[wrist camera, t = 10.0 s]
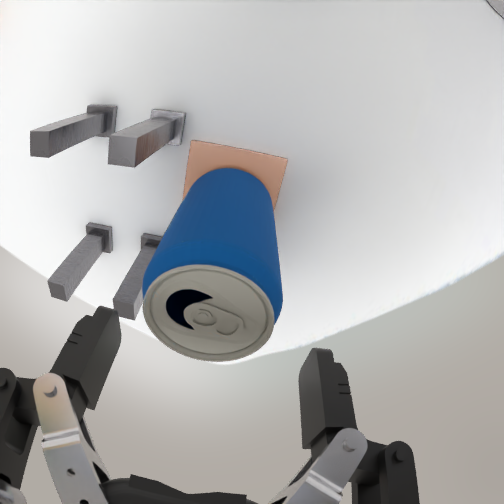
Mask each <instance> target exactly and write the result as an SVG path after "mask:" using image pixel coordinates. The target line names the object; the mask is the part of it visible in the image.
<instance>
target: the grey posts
mask: <svg viewBox="0 0 504 504" xmlns="http://www.w3.org/2000/svg"><path fill="white" fill-rule="evenodd" d="M185 115H186V113H184V112H176V111H168V110H159V109H153V110H152V112H151V119H148V120H146V121H143V122H141V123H138V124H135V125H133V126H130V127H128V128H125V129H123V130H121V131H118V132H116V133H113V134H111V135H110V138H109V153H108V164H112V165H120V166H127V167H136V166H137V165H138V164H140V163H141V162H142V161H144V160H145V159H146V158H148V157H149V156H150V155H152V154H153V153H155V152H156V151H157V150H159V149H160V148H162V147H163V146H164V145H166V144H170V145H177V146H179V145H180V144H181V140H182V133H183V127H184V121H185ZM162 238H163V237H160V236H155V235H149V234H144V233H143V235H142V236H141V251H140V253H139V255H138V256H137V258H136V260H135V261H134V263H133V265H132V266H131V268H130V270H129V272H128V273H127V275H126V277H125V279H124V280H123V282H122V284H121V286H120V287H119V289H118V291H117V293H116V295H115V296H114V298H113V305H114V309H115V310H117V311H118V316H119V317H123V318H127V319H131V320H135V319H136V316H137V314H138V312H139V309H140V307H141V305H142V302H143V300H144V299H143V293H142V284H143V277H144V273H145V271H146V269H147V267H148V265H149V263H150V261H151V259H152V257H153V255H154V253H155V251H156V249H157V247H158V245H159V243H160V241H161V239H162Z"/></svg>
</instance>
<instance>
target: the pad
mask: <svg viewBox="0 0 504 504" xmlns="http://www.w3.org/2000/svg"><path fill="white" fill-rule="evenodd" d="M287 161H288V160H287V159H285V158H281V157H277V156H272V155H268V154H264V153H259V152H254V151H250V150H245V149H240V148H235V147H229V146H224V145H219V144H213V143H207V142H202V141H195V140H192V141H191V145H190V151H189V158H188V164H187V171H186V178H185V186H184V193H183V200H184V198H185V196H186V194H187V193H188V191H189V189H190V188H191V186H192V185H193V183H194V182H195V181H196V180H197V179H198V178H200V177H201V176H202V175H204V174H206V173H208V172H210V171H213V170H216V169H221V168H234V169H239V170H243V171H245V172H248V173H250V174H251V175H253V176H255V177H256V178H257V179H259V180H260V181H261V182H262V183H263V185H264V186H265V187H266V189H267V190H268V192H269V194H270V197H271V200H272V205H273V212H274V209H275V205H276V202H277V198H278V194H279V191H280V187H281V183H282V179H283V176H284V172H285V168H286V165H287Z"/></svg>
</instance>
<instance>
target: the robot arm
mask: <svg viewBox="0 0 504 504" xmlns="http://www.w3.org/2000/svg"><path fill="white" fill-rule="evenodd" d="M487 1H488V2H489V3H490V5H491V6H492V7H493V8H494V9H495V10H496V11H497V12H498V13H499V14H500V15H501V16H502V17H503V18H504V0H487ZM120 343H121V329H120V323H119V316H118V311H117V310H115V309H111V308H107V307H104V306H99V307H98V308H97V310H96V311H95V313H94V315H93V317H92V316H89V315H86V316H85V317H83V318H82V319H81V320H80V321H78V322H77V324H76V326H75V327H74V329H73V331H72V334H70V336H69V338H68V339H67V342H66V343H65V345H64V347H63V348H62V350H61V352H60V354H59V356H58V358H57V360H56V361H55V364H54V365H53V367H52V369H51V370H50V372H49V373H45V374H43V375H41V376H40V377H38V378H37V379H27V378H19V377H16V376H15V375H14V374H13V372H12V371H11V370H9V369H7V368H0V504H27V502H26V499H25V497H24V495H23V494H22V492H21V491H20V487H21V483H22V479H23V475H24V471H25V467H26V463H27V459H28V456H29V453H30V449H31V446H32V443H33V440H34V436H35V433H36V430H37V427H38V426H41V428H42V432H43V436H44V439H43V440H42V449H43V452H44V456H45V459H46V462H47V465H48V468H49V471H50V473H51V476H52V479H53V482H54V484H55V487H56V490H57V492H58V494H59V497H60V499H61V502H62V504H258V503H255V502H253V501H251V500H248V499H246V496H247V495H242V494H231V493H221V492H213V493H201V494H186V493H183V492H181V491H178V490H176V489H174V488H171V487H169V486H167V485H165V484H163V483H161V482H159V481H155V480H150V479H147V478H143V477H139V476H136V475H132V474H131V476H130V478H119V479H113V480H111V478H110V476H109V474H108V471H107V469H106V467H105V465H104V463H103V462H102V460H101V458H100V456H99V454H98V452H97V450H96V448H95V445H94V443H93V440H92V437H91V435H90V432H89V430H88V427H87V424H86V421H85V418H84V416H83V415H84V412H85V409H86V408H89V409H92V410H94V409H95V407H96V404H97V401H98V399H99V396H100V394H101V391H102V388H103V386H104V383H105V381H106V378H107V376H108V373H109V371H110V368H111V366H112V363H113V361H114V358H115V356H116V354H117V352H118V349H119V347H120ZM350 393H351V392H350V386H349V382H348V376H347V372H346V371H345V369H344V368H343V366H342V365H341V363H334V358H333V353H332V351H331V350H330V349H321V348H312V350H311V351H310V353H309V355H308V357H307V359H306V360H305V362H304V364H303V366H302V368H301V370H300V374H299V394H300V410H301V428H302V447H303V449H311V457H310V458H309V459H308V460H307V461H306V463H305V464H304V465H303V466H302V468H301V469H300V470H299V471H298V472H297V474H296V475H295V476H294V477H293V478H292V479H291V481H290V482H289V483H288V484H287V485H286V486H285V487H284V488H283V490H281V491H280V492H279V493H278V494H277V495H276V496H275V497H274V498H273V499H272V500H271V501H270V502H269V503H268V504H339V502H340V501H341V499H342V493H341V492H342V490H343V488H344V487H345V485H346V484H347V482H352V504H420V503H419V493H418V485H417V477H416V470H415V463H414V456H413V452H412V449H411V448H410V447H409V445H407V444H406V443H404V442H402V441H395V442H392V443H391V444H389V445H383V444H379V443H376V442H372V441H369V440H367V439H366V438H365V436H364V435H363V434H362V433H361V432H360V431H358V428H357V425H356V420H355V414H354V408H353V402H352V397H351V395H350Z"/></svg>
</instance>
